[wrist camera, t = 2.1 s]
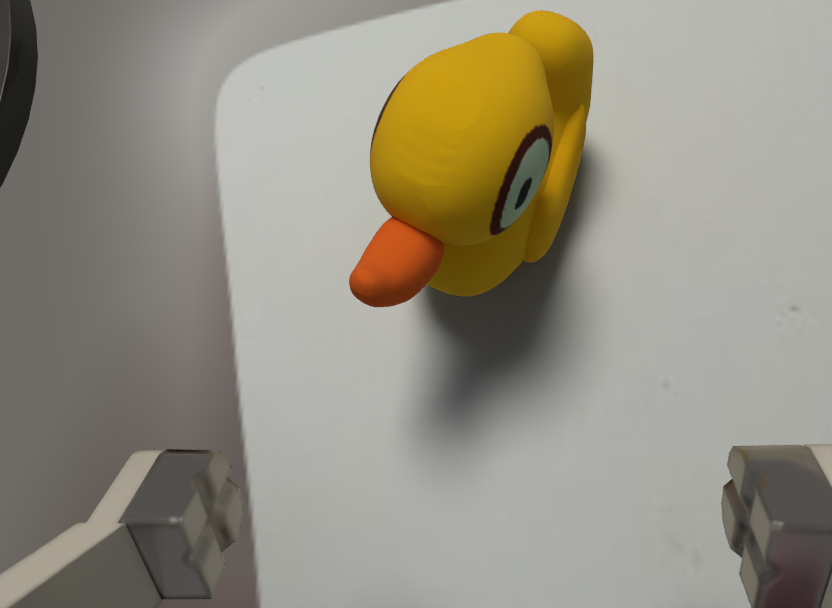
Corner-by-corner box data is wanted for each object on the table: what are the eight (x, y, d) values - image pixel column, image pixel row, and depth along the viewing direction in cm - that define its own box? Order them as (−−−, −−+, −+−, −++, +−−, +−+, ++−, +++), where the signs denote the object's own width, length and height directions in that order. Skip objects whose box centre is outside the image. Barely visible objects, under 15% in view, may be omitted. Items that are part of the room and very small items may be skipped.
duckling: (478, 390, 24) (447, 338, 15) (353, 320, 25) (250, 231, 16) (623, 129, 26) (682, -74, 16) (498, 76, 27) (483, -140, 17)
